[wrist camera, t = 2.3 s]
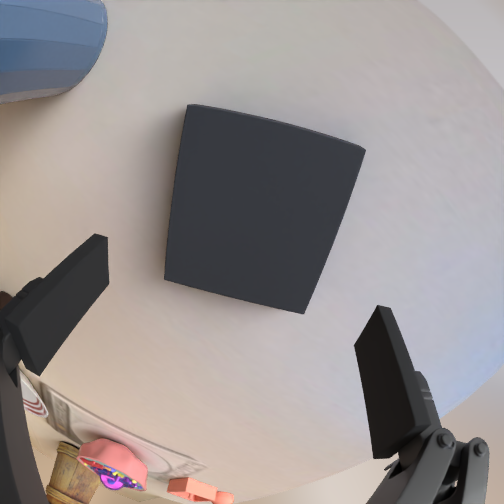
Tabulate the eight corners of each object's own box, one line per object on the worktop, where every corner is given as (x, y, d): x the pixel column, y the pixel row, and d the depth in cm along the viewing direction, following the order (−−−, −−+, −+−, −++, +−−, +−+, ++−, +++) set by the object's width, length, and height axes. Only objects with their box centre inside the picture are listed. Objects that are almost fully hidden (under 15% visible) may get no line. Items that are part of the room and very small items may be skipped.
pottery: (170, 479, 60) (162, 508, 51) (188, 477, 56) (181, 509, 47) (221, 497, 64) (216, 524, 56) (242, 495, 61) (238, 524, 52)
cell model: (159, 448, 47) (145, 494, 37) (152, 469, 57) (142, 504, 47) (83, 416, 46) (63, 458, 36) (92, 444, 55) (78, 477, 46)
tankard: (119, 469, 64) (98, 532, 42) (91, 468, 73) (72, 518, 51) (69, 440, 59) (41, 504, 37) (50, 441, 67) (27, 493, 45)
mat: (195, 104, 19) (187, 104, 17) (359, 145, 19) (366, 149, 18) (171, 267, 26) (163, 279, 24) (303, 300, 26) (303, 314, 24)
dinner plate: (59, 422, 52) (54, 432, 50) (-16, 368, 49) (-21, 376, 47) (43, 370, 40) (35, 383, 37) (-43, 300, 37) (-52, 309, 34)
